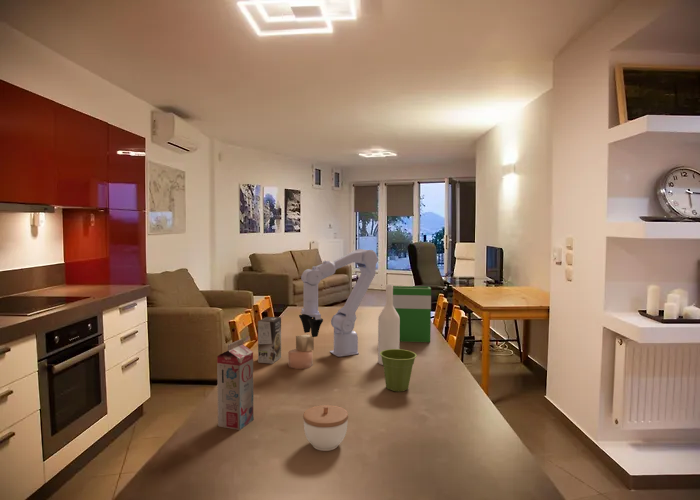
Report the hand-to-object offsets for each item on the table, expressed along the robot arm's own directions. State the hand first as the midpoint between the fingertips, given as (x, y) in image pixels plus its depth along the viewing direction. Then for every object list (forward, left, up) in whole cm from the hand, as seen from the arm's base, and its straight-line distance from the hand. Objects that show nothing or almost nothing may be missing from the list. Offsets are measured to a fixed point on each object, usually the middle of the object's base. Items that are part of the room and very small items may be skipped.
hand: (310, 334), depth 182 cm
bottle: (-24, +19, -10) cm, 32 cm away
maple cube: (+7, +4, -2) cm, 8 cm away
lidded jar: (+25, +67, -10) cm, 72 cm away
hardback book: (-52, -6, -10) cm, 53 cm away
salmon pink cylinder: (+7, +6, -10) cm, 13 cm away
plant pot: (-12, +43, -10) cm, 46 cm away
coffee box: (+15, -5, -10) cm, 18 cm away
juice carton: (+41, +45, -10) cm, 62 cm away
